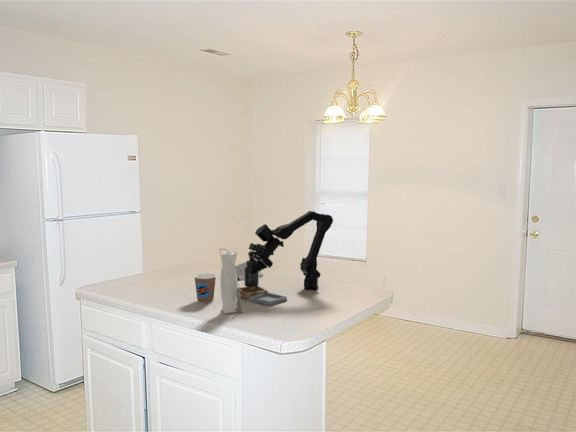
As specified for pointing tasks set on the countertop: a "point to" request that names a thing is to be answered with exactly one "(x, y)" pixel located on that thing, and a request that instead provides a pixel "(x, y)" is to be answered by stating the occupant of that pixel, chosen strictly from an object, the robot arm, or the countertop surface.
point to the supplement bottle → (249, 278)
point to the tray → (268, 299)
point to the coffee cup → (205, 287)
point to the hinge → (241, 271)
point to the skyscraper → (229, 283)
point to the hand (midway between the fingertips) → (248, 272)
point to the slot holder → (251, 291)
